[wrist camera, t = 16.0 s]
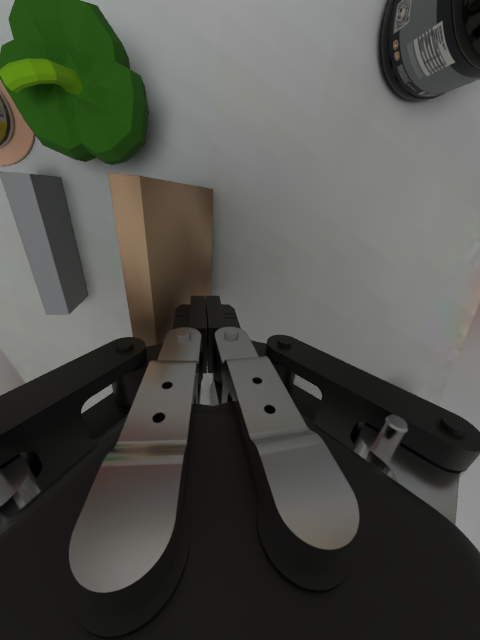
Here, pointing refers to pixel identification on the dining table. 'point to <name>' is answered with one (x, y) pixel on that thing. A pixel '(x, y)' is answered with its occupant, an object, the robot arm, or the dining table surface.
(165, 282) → the tan flat square panel
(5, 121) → the supplement bottle
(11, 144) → the coaster
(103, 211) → the dining table surface
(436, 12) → the supplement container
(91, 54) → the bell pepper
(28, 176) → the rails
